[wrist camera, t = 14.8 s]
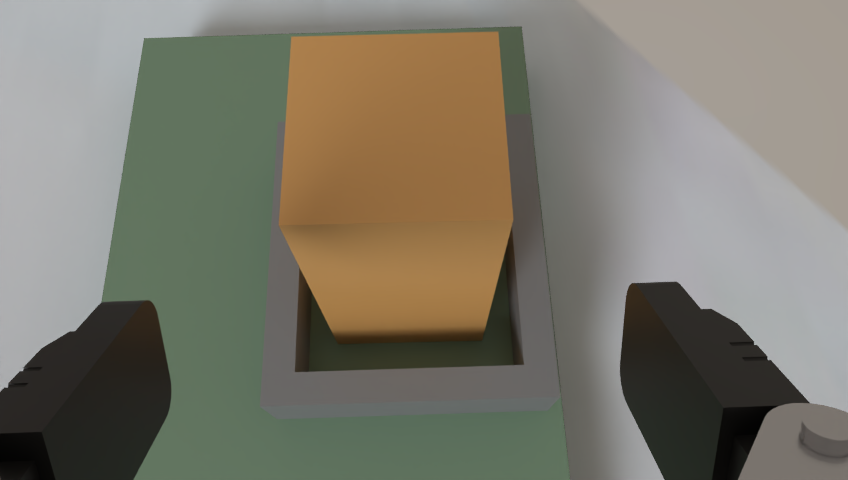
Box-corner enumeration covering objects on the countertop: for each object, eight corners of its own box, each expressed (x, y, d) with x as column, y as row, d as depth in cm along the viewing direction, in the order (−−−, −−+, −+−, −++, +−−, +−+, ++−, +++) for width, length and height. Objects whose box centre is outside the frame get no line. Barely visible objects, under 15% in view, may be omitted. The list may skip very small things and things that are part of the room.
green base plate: (165, 74, 31) (119, -4, 27) (514, 63, 31) (529, -17, 27) (86, 622, 23) (-1, 644, 18) (569, 606, 23) (603, 624, 18)
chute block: (341, 213, 26) (291, 36, 17) (474, 210, 26) (498, 31, 17) (337, 343, 24) (278, 224, 15) (481, 340, 24) (513, 219, 15)
